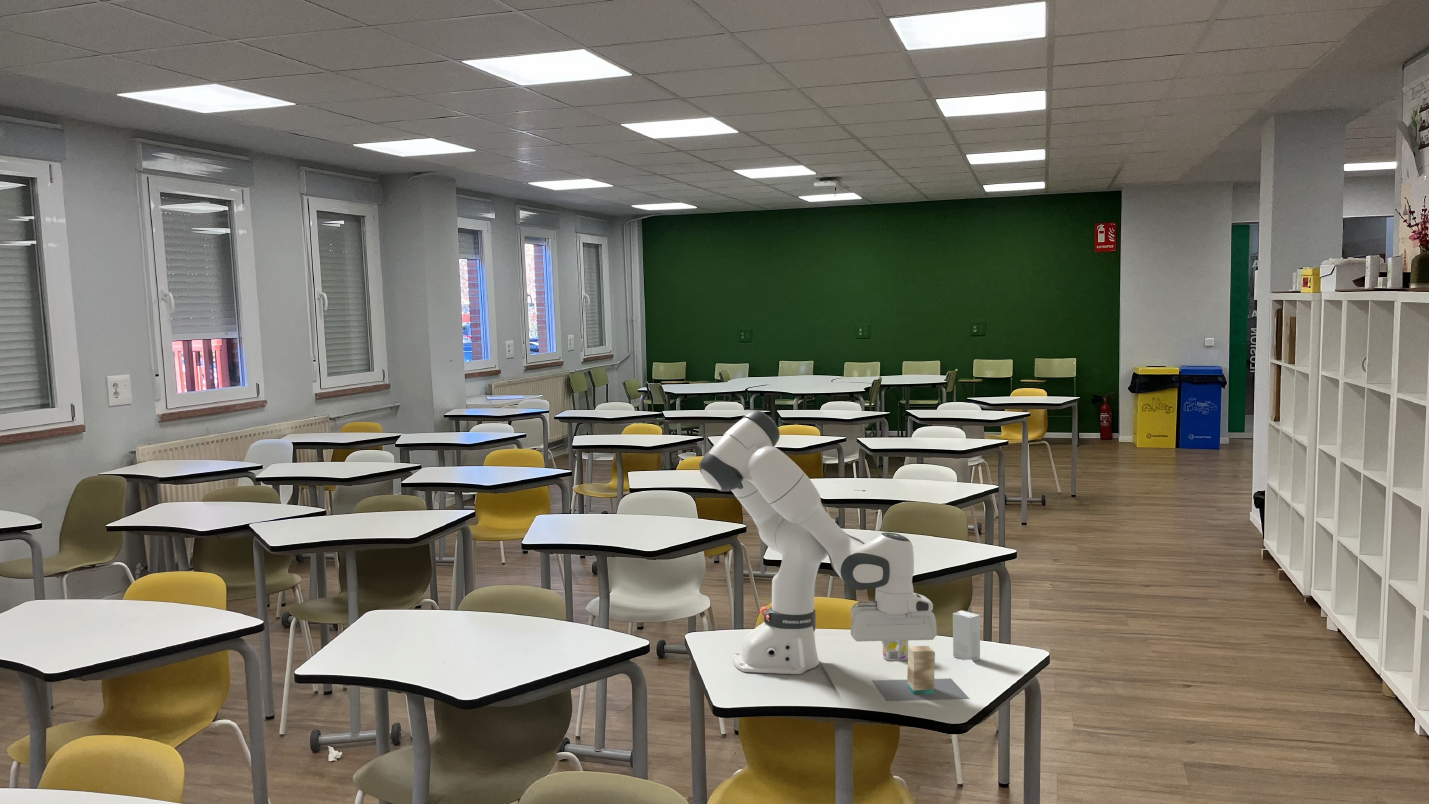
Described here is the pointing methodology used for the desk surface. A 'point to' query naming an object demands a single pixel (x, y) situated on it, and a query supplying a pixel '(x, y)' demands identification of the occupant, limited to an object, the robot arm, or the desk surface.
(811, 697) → the desk surface
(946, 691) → the rubber mat
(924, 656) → the birch block
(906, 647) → the supplement bottle
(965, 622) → the skincare box
